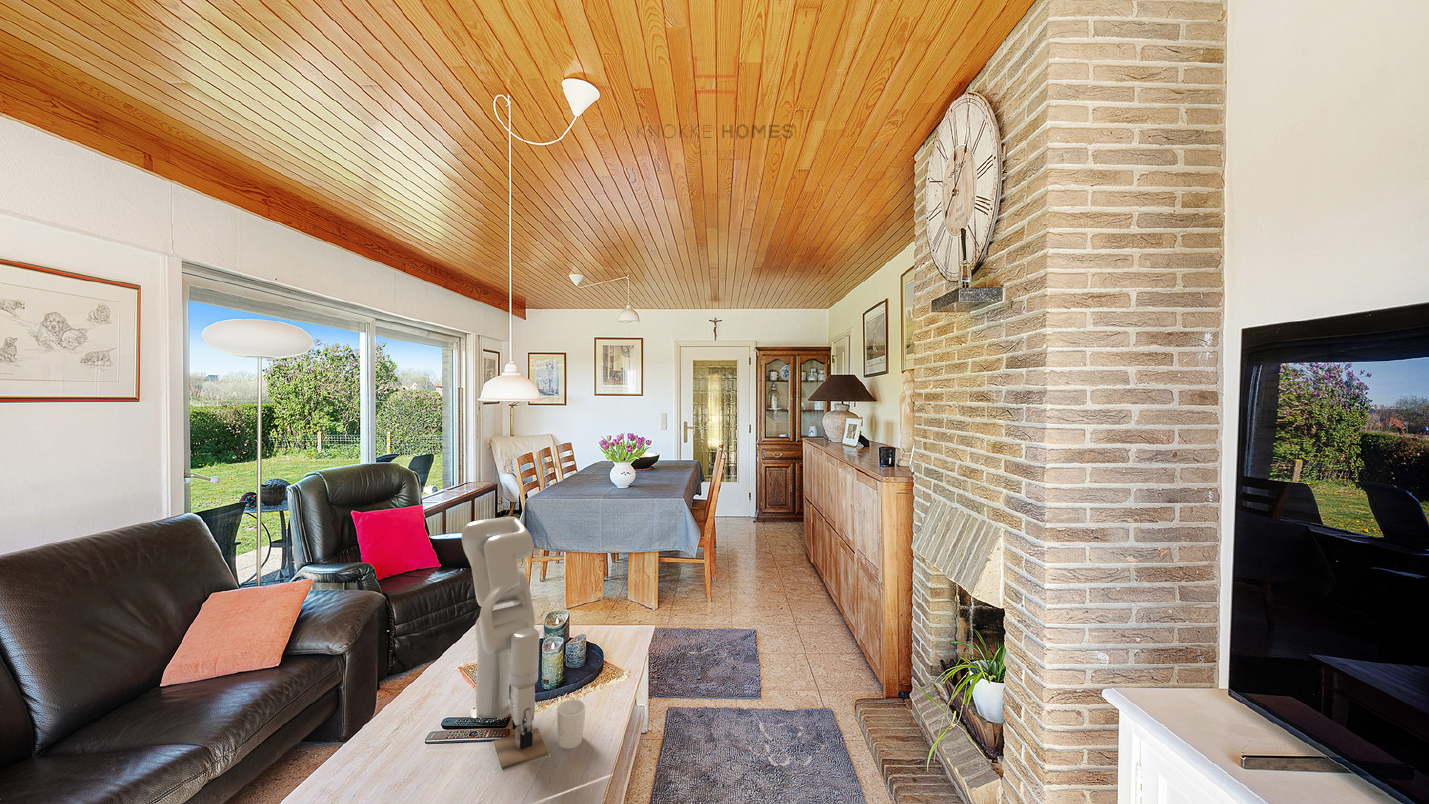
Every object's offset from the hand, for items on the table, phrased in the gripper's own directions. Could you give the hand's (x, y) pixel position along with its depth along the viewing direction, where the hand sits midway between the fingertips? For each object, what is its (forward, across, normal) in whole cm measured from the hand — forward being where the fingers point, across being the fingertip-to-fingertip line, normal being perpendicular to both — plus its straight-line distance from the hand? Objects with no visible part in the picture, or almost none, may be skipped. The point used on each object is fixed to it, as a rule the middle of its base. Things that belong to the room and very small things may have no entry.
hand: (522, 737), depth 144 cm
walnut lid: (+4, -1, 0) cm, 4 cm away
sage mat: (+4, -1, 0) cm, 4 cm away
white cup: (+4, +2, +13) cm, 14 cm away
